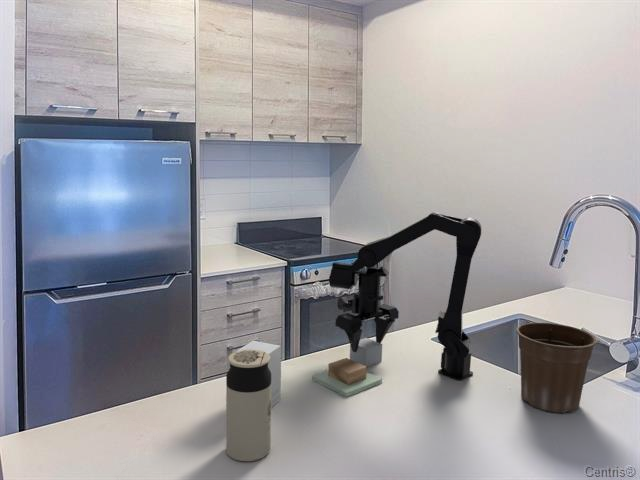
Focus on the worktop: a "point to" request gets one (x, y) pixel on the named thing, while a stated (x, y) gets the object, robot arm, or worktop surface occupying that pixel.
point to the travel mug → (248, 405)
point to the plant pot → (553, 365)
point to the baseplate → (344, 388)
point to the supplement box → (270, 366)
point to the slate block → (367, 352)
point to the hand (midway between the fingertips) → (366, 347)
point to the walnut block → (347, 371)
